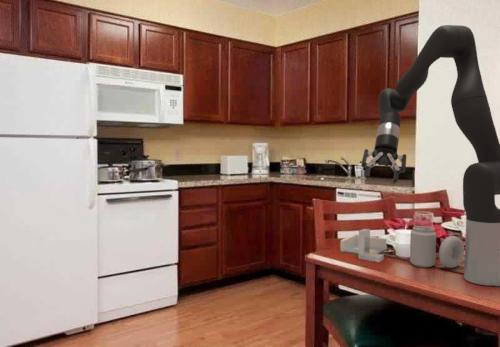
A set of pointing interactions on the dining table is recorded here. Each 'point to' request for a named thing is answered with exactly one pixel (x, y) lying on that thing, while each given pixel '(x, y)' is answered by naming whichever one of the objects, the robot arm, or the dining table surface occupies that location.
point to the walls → (354, 240)
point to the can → (423, 246)
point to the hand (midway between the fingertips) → (380, 180)
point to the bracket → (367, 247)
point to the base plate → (355, 250)
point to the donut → (457, 252)
